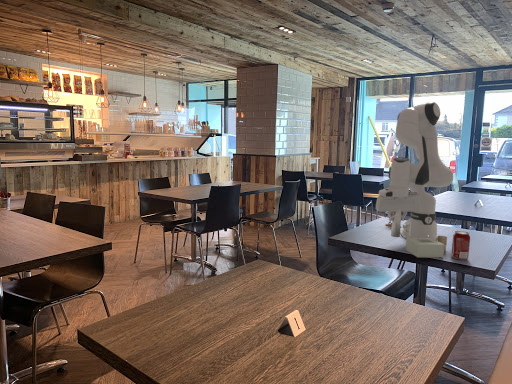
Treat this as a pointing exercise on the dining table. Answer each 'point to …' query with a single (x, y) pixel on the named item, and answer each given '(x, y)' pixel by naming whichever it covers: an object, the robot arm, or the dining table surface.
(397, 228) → the white tall square block
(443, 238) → the short wooden pin
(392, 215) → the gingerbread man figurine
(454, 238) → the soda can
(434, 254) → the hole block
